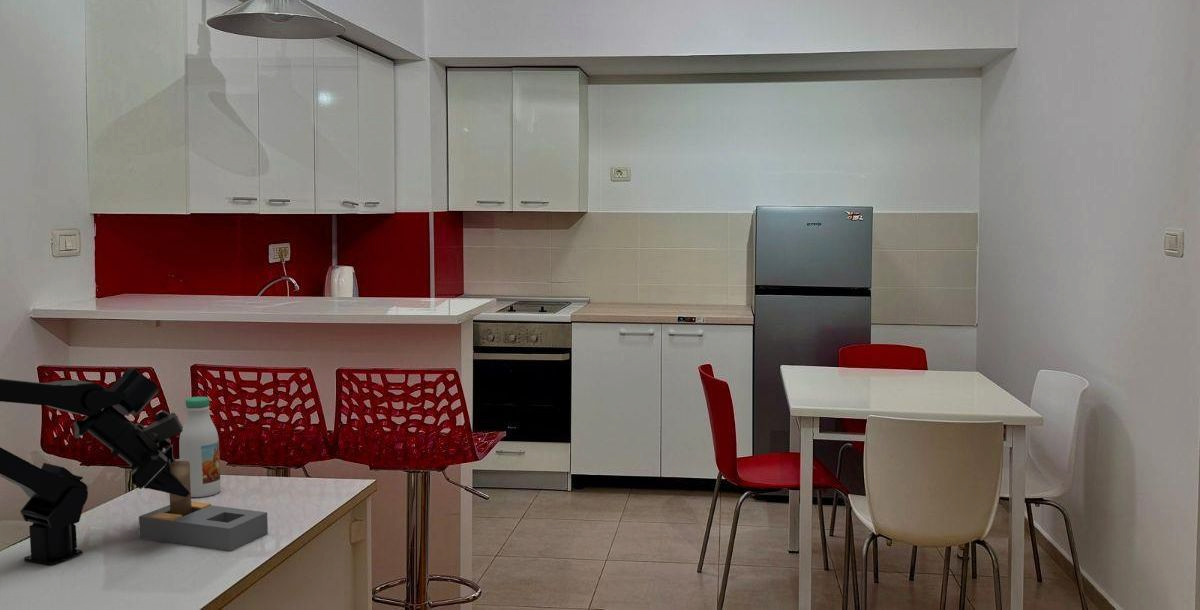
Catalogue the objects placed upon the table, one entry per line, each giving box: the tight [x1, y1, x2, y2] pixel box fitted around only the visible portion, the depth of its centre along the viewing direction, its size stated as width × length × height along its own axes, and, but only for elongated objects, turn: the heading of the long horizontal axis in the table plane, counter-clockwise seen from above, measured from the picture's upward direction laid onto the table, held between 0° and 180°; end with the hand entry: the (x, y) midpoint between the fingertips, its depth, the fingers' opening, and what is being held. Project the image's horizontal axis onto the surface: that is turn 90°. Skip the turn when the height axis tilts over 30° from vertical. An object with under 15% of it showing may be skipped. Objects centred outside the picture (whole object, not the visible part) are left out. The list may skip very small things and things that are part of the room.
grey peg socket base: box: [138, 500, 269, 552], centre depth 185 cm, size 20×10×4 cm, turn 70°
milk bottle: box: [178, 396, 222, 498], centre depth 212 cm, size 8×8×20 cm
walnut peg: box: [168, 460, 192, 517], centre depth 187 cm, size 4×4×13 cm
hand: (188, 489), depth 187 cm, fingers open, 8 cm apart
